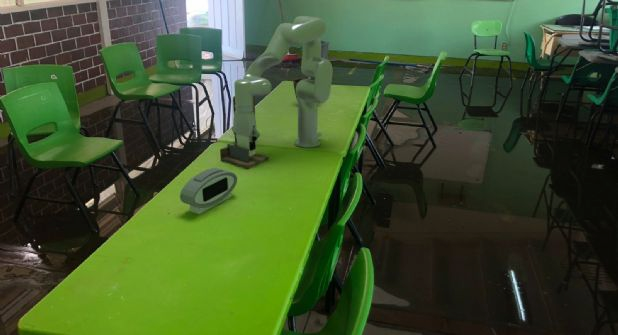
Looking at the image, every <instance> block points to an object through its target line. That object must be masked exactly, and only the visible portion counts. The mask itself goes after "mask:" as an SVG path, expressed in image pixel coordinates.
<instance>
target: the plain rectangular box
mask: <svg viewBox="0 0 618 335" xmlns="http://www.w3.org/2000/svg"><path fill="white" fill-rule="evenodd" d="M252 134H253V133H252ZM236 135H237V146H238V147H242V148H245V149H249V157H250V156H252V155H254V154H255V153H256V149H254V150H252V151H250V144H249V142H251V141H250V139H249V137H247V136H243V135H239V134H236ZM251 137H252V138H253V136H251Z"/></svg>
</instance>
